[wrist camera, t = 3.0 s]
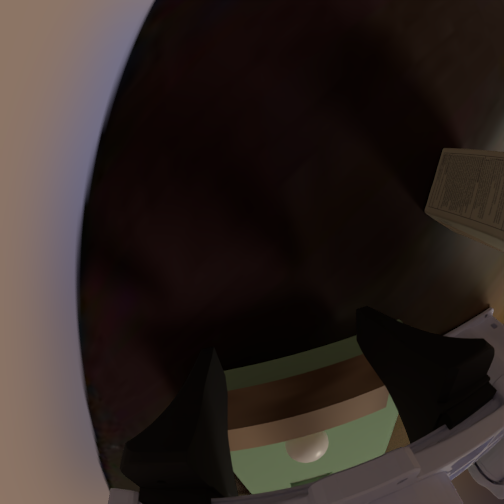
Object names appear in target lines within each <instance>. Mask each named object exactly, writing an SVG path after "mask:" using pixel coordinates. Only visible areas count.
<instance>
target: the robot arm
mask: <svg viewBox="0 0 504 504" xmlns="http://www.w3.org/2000/svg"><path fill="white" fill-rule="evenodd" d="M492 315H493V308H492V307H490V308H488V309H487V310H485V311H484V312H482V313H481V314H479V315H478V316H476V317H474V318H473V319H471V320H469V321H468V322H466V323H464V324H463V325H461V326H459V327H457V328H456V329H454V330H452V331H450V332H449V333H447V334H445V335H443V336H442V335H437V334H433V333H429V332H426V331H422V330H419V329H416V328H414V327H411V326H408V325H406V324H404V323H401V322H399V321H397V320H395V319H392V318H390V317H388V316H386V315H384V314H382V313H380V312H378V311H376V310H374V309H372V308H370V307H368V306H366V307H363V308H360V309H357V310H356V326H357V336H356V340H357V343H358V345H359V347H360V349H361V351H362V353H363V354H364V356H365V358H366V359H367V361H368V362H369V363H370V365H371V366H372V368H373V369H374V371H375V372H376V374H377V375H378V376H379V378H380V379H381V381H382V382H383V384H384V385H385V387H386V388H387V390H388V392H389V394H390V396H391V398H392V400H393V402H394V404H395V406H396V408H397V410H398V413H399V415H400V417H401V419H402V422H403V424H404V427H405V429H406V432H407V435H408V438H409V441H410V444H409V445H407V446H405V447H400V448H397V449H395V450H392V451H390V452H387V453H385V454H383V455H381V456H378V457H376V458H374V459H371V460H369V461H366V462H364V463H361V464H359V465H356V466H353V467H351V468H348V469H345V470H342V471H339V472H336V473H333V474H331V475H328V476H325V477H323V478H321V479H319V480H317V481H315V482H311V483H307V484H303V485H299V486H295V487H291V488H286V489H281V490H276V491H271V492H265V493H259V494H252V495H244V496H238V492H237V487H236V483H235V478H234V472H233V467H232V461H231V454H230V447H229V440H228V392H227V384H226V376H225V373H224V371H223V368H222V366H221V363H220V361H219V358H218V356H217V353H216V350H215V348H214V347H211V348H205V349H202V350H201V352H200V354H199V356H198V358H197V360H196V362H195V364H194V366H193V368H192V370H191V372H190V374H189V376H188V378H187V380H186V381H185V383H184V385H183V386H182V388H181V389H180V391H179V393H178V394H177V395H176V397H175V398H174V400H173V401H172V402H171V404H170V405H169V406H168V407H167V408H166V410H165V411H164V412H163V413H162V414H161V415H160V416H159V417H158V418H157V419H156V420H155V421H154V422H153V423H152V424H151V425H150V426H148V427H147V428H146V429H145V430H144V431H142V432H141V433H140V434H138V435H137V436H136V437H134V438H133V439H131V440H130V441H128V442H127V443H125V446H124V450H123V454H122V459H121V464H120V470H121V472H122V473H123V474H124V475H125V476H126V477H127V478H129V479H130V480H131V481H133V482H134V483H135V484H137V485H138V486H139V487H140V492H139V493H138V492H136V491H132V490H124V489H117V488H111V490H110V495H109V501H108V504H464V503H463V501H462V500H461V498H460V496H459V494H458V493H457V491H456V489H455V487H454V485H453V484H452V482H451V480H452V479H454V478H455V477H456V476H458V475H459V474H461V473H462V472H463V471H464V470H466V469H467V468H468V471H469V473H470V474H471V476H472V477H473V479H474V480H475V481H476V482H477V483H478V484H480V485H482V486H484V487H486V488H487V489H488V490H490V491H491V492H492V493H493V494H494V496H496V497H497V498H498V499H504V325H503V324H502V323H501V322H499V321H498V320H497V319H495V318H494V317H493V316H492Z"/></svg>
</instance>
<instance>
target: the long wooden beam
mask: <svg viewBox="0 0 504 504" xmlns="http://www.w3.org/2000/svg"><path fill="white" fill-rule="evenodd" d="M227 392H228V440H229V447H230V452H231V451H238V450H244V449H250V448H255V447H261V446H266V445H271V444H275V443H280V442H284V441H288V440H292V439H296V438H300V437H304V436H307V435H311V434H314V433H318V432H321V431H324V430H327V429H331V428H334V427H337V426H340V425H342V424H345V423H348V422H351V421H354V420H356V419H359V418H361V417H364V416H367V415H369V414H371V413H374V412H376V411H379V410H381V409H383V408H386V405H387V401H388V396H389V392H388V390H387V388H386V387H385V385H384V384H383V382H382V381H381V379H380V378H379V376H378V375H377V374H376V372H375V371H374V369H373V368H372V366H371V365H370V363H369V362H368V361H367V359H366V358H365V356H364V354H361V355H358V356H356V357H353V358H350V359H347V360H344V361H341V362H338V363H335V364H332V365H329V366H326V367H323V368H320V369H316V370H313V371H310V372H306V373H303V374H299V375H295V376H292V377H288V378H284V379H280V380H276V381H272V382H268V383H264V384H259V385H255V386H250V387H245V388H240V389H235V390H230V391H227Z"/></svg>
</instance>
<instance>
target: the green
mask: <svg viewBox="0 0 504 504" xmlns="http://www.w3.org/2000/svg"><path fill="white" fill-rule="evenodd" d="M397 321H399V322H401V323H403V322H402V321H401V320H400V319H398V320H397ZM356 336H357V335H356ZM356 336H353V337H350V338H347V339H344V340H341V341H338V342H335V343H332V344H328V345H325V346H322V347H319V348H315V349H312V350H308V351H305V352H301V353H298V354H294V355H291V356H287V357H283V358H279V359H275V360H271V361H267V362H263V363H259V364H254V365H250V366H245V367H241V368H236V369H231V370H226V371H224V373H225V376H226V384H227V391H230V390H235V389H240V388H245V387H250V386H255V385H259V384H264V383H268V382H272V381H276V380H280V379H284V378H288V377H292V376H295V375H299V374H303V373H306V372H310V371H313V370H316V369H320V368H323V367H326V366H329V365H332V364H335V363H338V362H341V361H344V360H347V359H350V358H353V357H356V356H358V355H361V354H363V353H362V351H361V349H360V347H359V345H358V343H357V340H356ZM397 416H398V410H397V408H396V406H395V404H394V402H393V400H392V398H391V396H390V394H389V396H388V401H387V405H386V408H383V409H381V410H379V411H376V412H374V413H371V414H369V415H367V416H364V417H361V418H359V419H356V420H354V421H351V422H348V423H345V424H342V425H340V426H337V427H334V428H331V429H327V430H324V431H325V432H326V434H327V436H328V440H329V444H328V448H327V451H326V452H325V454H324V455H323V456H322V457H321V458H319V459H318V460H316V461H313V462H309V463H301V462H297V461H295V460H293V459H292V458H291V457H290V456H289V455H288V454H287V452H286V449H285V441H284V442H280V443H275V444H271V445H266V446H261V447H255V448H250V449H244V450H238V451H231V452H230V454H231V461H232V467H233V472H234V473H235V474H236V475H237V477H238V478H239V479H240V480H241V482H242V483H243V484H244V485H245V487H246V488H247V489H248V490H249V491H250V492H251V494H259V493H265V492H271V491H276V490H281V489H286V488H291V487H295V486H299V485H303V484H307V483H311V482H315V481H317V480H319V479H321V478H323V477H325V476H328V475H331V474H333V473H336V472H339V471H342V470H345V469H348V468H351V467H353V466H356V465H359V464H361V463H364V462H366V461H369V460H371V459H374V458H376V457H378V456H381V455H383V454H384V453H385V451H386V448H387V445H388V442H389V440H390V437H391V434H392V431H393V428H394V425H395V422H396V419H397Z"/></svg>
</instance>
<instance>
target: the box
mask: <svg viewBox="0 0 504 504" xmlns="http://www.w3.org/2000/svg"><path fill="white" fill-rule="evenodd" d="M424 212H425V213H426V214H427V215H429V216H430V217H432V218H433V219H434V220H436V221H438V222H439V223H441V224H442V225H444V226H445V227H447V228H448V229H450V230H452V231H454V232H455V233H458V234H460V235H463V236H465V237H468V238H470V239H473V240H475V241H478V242H480V243H482V244H485V245H487V246H489V247H492V248H494V249H496V250H499V251H501V252H503V253H504V152H497V151H485V150H473V149H457V148H443V150H442V154H441V157H440V160H439V163H438V167H437V170H436V174H435V178H434V181H433V184H432V187H431V190H430V194H429V197H428V201H427V204H426V207H425V210H424Z"/></svg>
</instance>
